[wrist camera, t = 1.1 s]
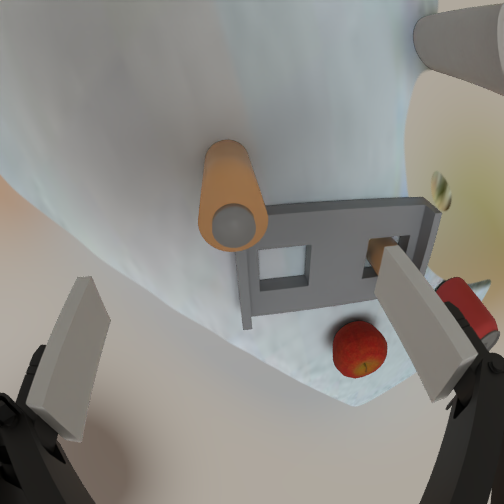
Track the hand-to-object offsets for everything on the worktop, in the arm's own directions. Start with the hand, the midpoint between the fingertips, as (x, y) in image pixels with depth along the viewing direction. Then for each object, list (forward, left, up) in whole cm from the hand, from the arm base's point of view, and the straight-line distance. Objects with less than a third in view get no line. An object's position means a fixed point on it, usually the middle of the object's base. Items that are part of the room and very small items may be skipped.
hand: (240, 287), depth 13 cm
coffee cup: (-13, +22, -18) cm, 31 cm away
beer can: (+21, +32, -18) cm, 42 cm away
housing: (+11, +11, -17) cm, 24 cm away
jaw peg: (0, 0, -17) cm, 17 cm away
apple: (+25, +15, -18) cm, 35 cm away
